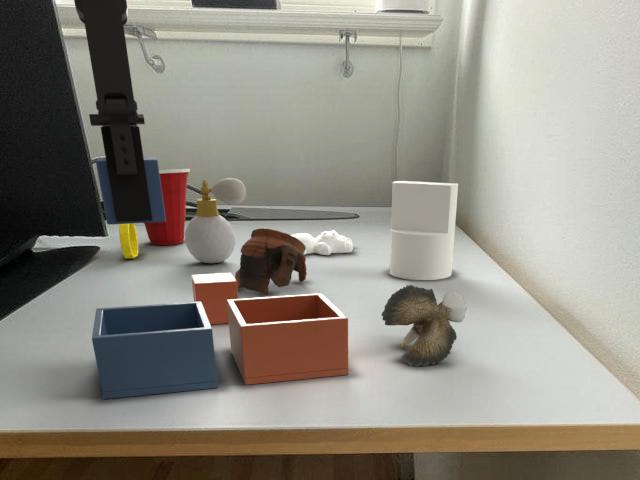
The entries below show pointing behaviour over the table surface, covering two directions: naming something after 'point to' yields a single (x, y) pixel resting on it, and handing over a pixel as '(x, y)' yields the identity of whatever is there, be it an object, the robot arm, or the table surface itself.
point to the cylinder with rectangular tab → (422, 229)
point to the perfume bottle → (213, 222)
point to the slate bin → (154, 349)
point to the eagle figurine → (425, 322)
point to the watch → (128, 240)
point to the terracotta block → (215, 294)
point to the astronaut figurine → (325, 243)
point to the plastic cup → (171, 209)
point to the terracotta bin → (287, 338)
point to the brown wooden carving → (270, 260)
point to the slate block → (153, 191)
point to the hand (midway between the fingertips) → (133, 215)
